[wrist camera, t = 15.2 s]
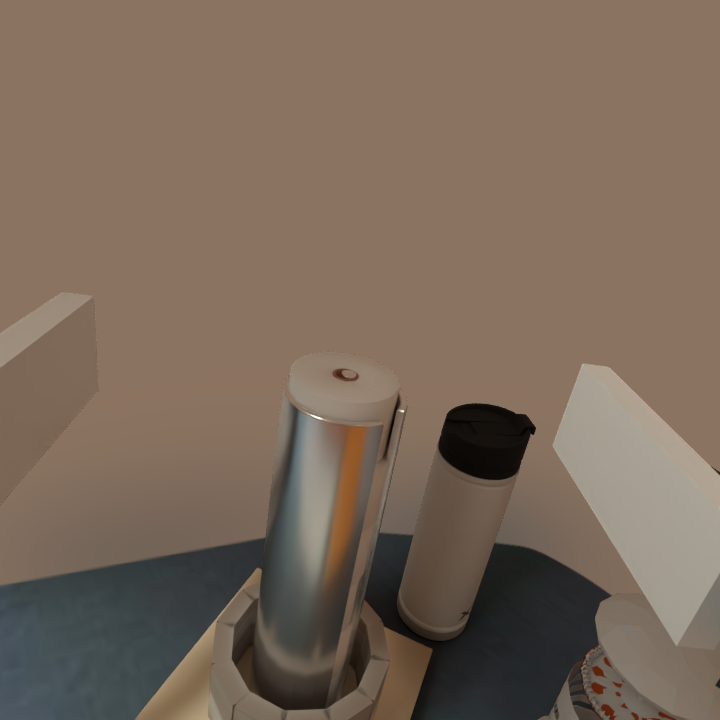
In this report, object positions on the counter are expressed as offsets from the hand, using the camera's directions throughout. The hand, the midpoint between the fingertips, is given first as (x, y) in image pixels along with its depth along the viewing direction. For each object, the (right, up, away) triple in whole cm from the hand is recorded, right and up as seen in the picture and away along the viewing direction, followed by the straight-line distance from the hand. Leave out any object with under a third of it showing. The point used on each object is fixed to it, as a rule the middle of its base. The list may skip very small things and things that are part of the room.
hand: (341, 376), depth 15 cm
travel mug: (+7, -22, +33) cm, 40 cm away
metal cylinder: (-4, -23, +23) cm, 33 cm away
